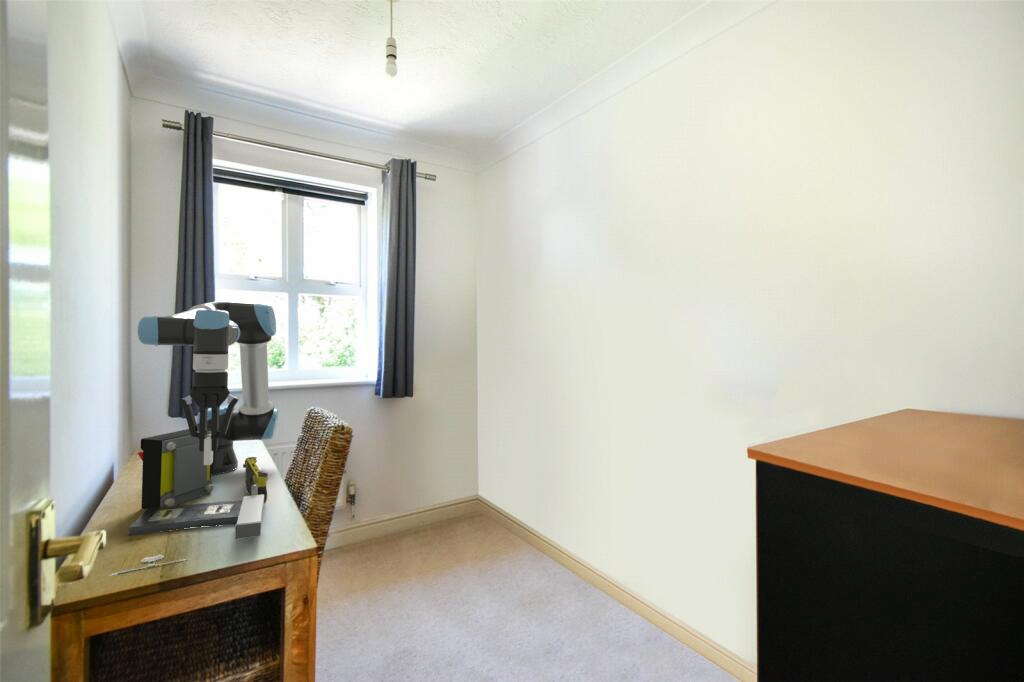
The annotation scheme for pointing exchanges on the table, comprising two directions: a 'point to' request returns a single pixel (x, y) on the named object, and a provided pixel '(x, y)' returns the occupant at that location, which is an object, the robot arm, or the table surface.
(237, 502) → the label board
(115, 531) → the table surface
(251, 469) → the gaming console
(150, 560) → the picture light
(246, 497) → the light grey rectangular bar
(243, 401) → the robot arm
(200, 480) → the electrical component
